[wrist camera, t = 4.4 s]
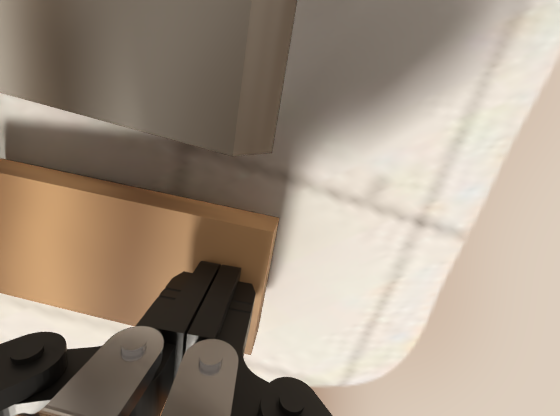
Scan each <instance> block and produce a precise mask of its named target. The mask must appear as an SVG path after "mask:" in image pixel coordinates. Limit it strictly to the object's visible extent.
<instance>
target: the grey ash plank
mask: <svg viewBox="0 0 560 416" xmlns="http://www.w3.org/2000/svg"><path fill="white" fill-rule="evenodd" d="M296 5H297V0H0V93H3V94H7V95H11V96H14V97H18V98H22V99H25V100H29V101H33V102H36V103H40V104H44V105H47V106H51V107H55V108H58V109H62V110H65V111H69V112H73V113H76V114H80V115H84V116H87V117H91V118H95V119H98V120H102V121H106V122H109V123H113V124H116V125H120V126H124V127H127V128H131V129H135V130H138V131H142V132H146V133H149V134H153V135H157V136H160V137H164V138H168V139H171V140H175V141H178V142H182V143H186V144H189V145H193V146H197V147H200V148H204V149H208V150H211V151H215V152H219V153H222V154H226V155H230V156H242V155H253V154H264V153H272V149H273V143H274V137H275V131H276V125H277V119H278V113H279V107H280V101H281V95H282V89H283V83H284V77H285V71H286V65H287V59H288V53H289V47H290V41H291V35H292V29H293V23H294V17H295V11H296Z"/></svg>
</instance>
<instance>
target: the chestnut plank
mask: <svg viewBox="0 0 560 416" xmlns="http://www.w3.org/2000/svg"><path fill="white" fill-rule="evenodd" d="M278 222H279V218H278V217H273V216H268V215H264V214H259V213H254V212H250V211H245V210H240V209H236V208H231V207H226V206H222V205H217V204H212V203H208V202H203V201H198V200H193V199H189V198H184V197H179V196H175V195H170V194H165V193H161V192H156V191H151V190H147V189H142V188H137V187H133V186H128V185H123V184H119V183H114V182H109V181H104V180H100V179H95V178H90V177H86V176H81V175H76V174H72V173H67V172H62V171H58V170H53V169H48V168H44V167H39V166H34V165H29V164H25V163H20V162H15V161H11V160H6V159H0V293H3V294H7V295H11V296H15V297H19V298H23V299H27V300H31V301H35V302H39V303H43V304H47V305H51V306H55V307H59V308H63V309H67V310H71V311H75V312H79V313H83V314H87V315H91V316H95V317H99V318H103V319H107V320H111V321H116V322H120V323H124V324H128V325H132V326H136V325H137V323H138V322H139V321H140V319H141V318H142V317H143V316H144V314H145V313H146V312H147V310H148V309H149V308H150V306H151V305H152V304H153V302H154V301H155V300H156V299H157V297H159V295H160V293H161V292H162V291H163V289H165V287H166V285H167V284H168V283H169V282H170V280H171V279H172V278H173V277H175V276H177V275H178V274H180V273H182V272H183V271H185V272H190V273H193V272H194V270H195V269H196V267H197V266H198V264H199V263H200V261H206V262H212V263H217V264H221V265H222V264H223V265H228V266H234V267H239V268H241V275H240V282H245V283H251V284H252V285H253V287H254V290H255V293H256V295H255V301H254V306H253V312H252V318H251V324H250V329H249V333H248V338H247V342H246V347H245V351H244V354H249V355H251V353H252V349H253V346H254V342H255V339H256V335H257V332H258V328H259V322H260V317H261V312H262V307H263V301H264V296H265V291H266V285H267V280H268V275H269V270H270V264H271V259H272V254H273V248H274V243H275V238H276V233H277V227H278Z"/></svg>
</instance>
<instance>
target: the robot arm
mask: <svg viewBox="0 0 560 416" xmlns="http://www.w3.org/2000/svg"><path fill="white" fill-rule="evenodd" d="M240 275H241V268H239V267H234V266H228V265H223V264H222V265H221V264H217V263H212V262H206V261H200V263H199V264H198V266H197V267H196V269H195V270H194V272H193V273H190V272H185V271H183V272H182V273H180V274H178V275H177V276H175V277H173V278H172V279H171V280H170V282H169V283H168V284H167V285H166V287H165V289H163V291H162V292H161V293H160V295H159V297H157V299H156V300H155V301H154V302H153V304H152V305H151V306H150V308H149V309H148V310H147V312H146V313H145V314H144V316H143V317H142V318H141V319H140V321H139V322H138V323H137V325H136V326H135V327H130V328H127V329H124V330H122V331H120V332H118V333H116V334H115V335H113V336H112V337H111V338H110V339H109V340H108V341H107V342H106V343H105V344H104V345H103V346H99V347H90V348H78V349H67V347H66V341H65V339H64V337H62V336H61V335H59V334H57V333H53V332H37V333H32V334H28V335H25V336H21V337H19V338H16V339H13V340H10V341H7V342H5V343H2V344H0V416H160V413H161V411H162V409H163V407H164V409H163V412H162V414H161V416H332V415H331V413H330V412H329V411H328V409H327V408H326V407H325V405H324V404H323V403H322V401H321V400H320V399H319V398H318V396H317V395H316V394H315V392H314V391H313V390H312V389H311V388H310V387H309V386H308V385H307V384H306V383H304V382H302V381H300V380H298V379H296V378H292V377H281V378H277V379H275V380H273V381H271V382H270V383H269V382H267V381H265V380H263V379H261V378H260V377H258V376H256V375H255V374H254V373H252V372H251V371H250V369H249V368H248V367H247V365H246V364H245V362H244V359H243V356H244V351H245V347H246V342H247V338H248V333H249V329H250V324H251V318H252V312H253V306H254V301H255V295H256V293H255V290H254V287H253V285H252V284H251V283H245V282H240ZM166 400H167V401H166ZM165 402H166V403H165ZM164 404H165V406H164Z"/></svg>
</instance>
